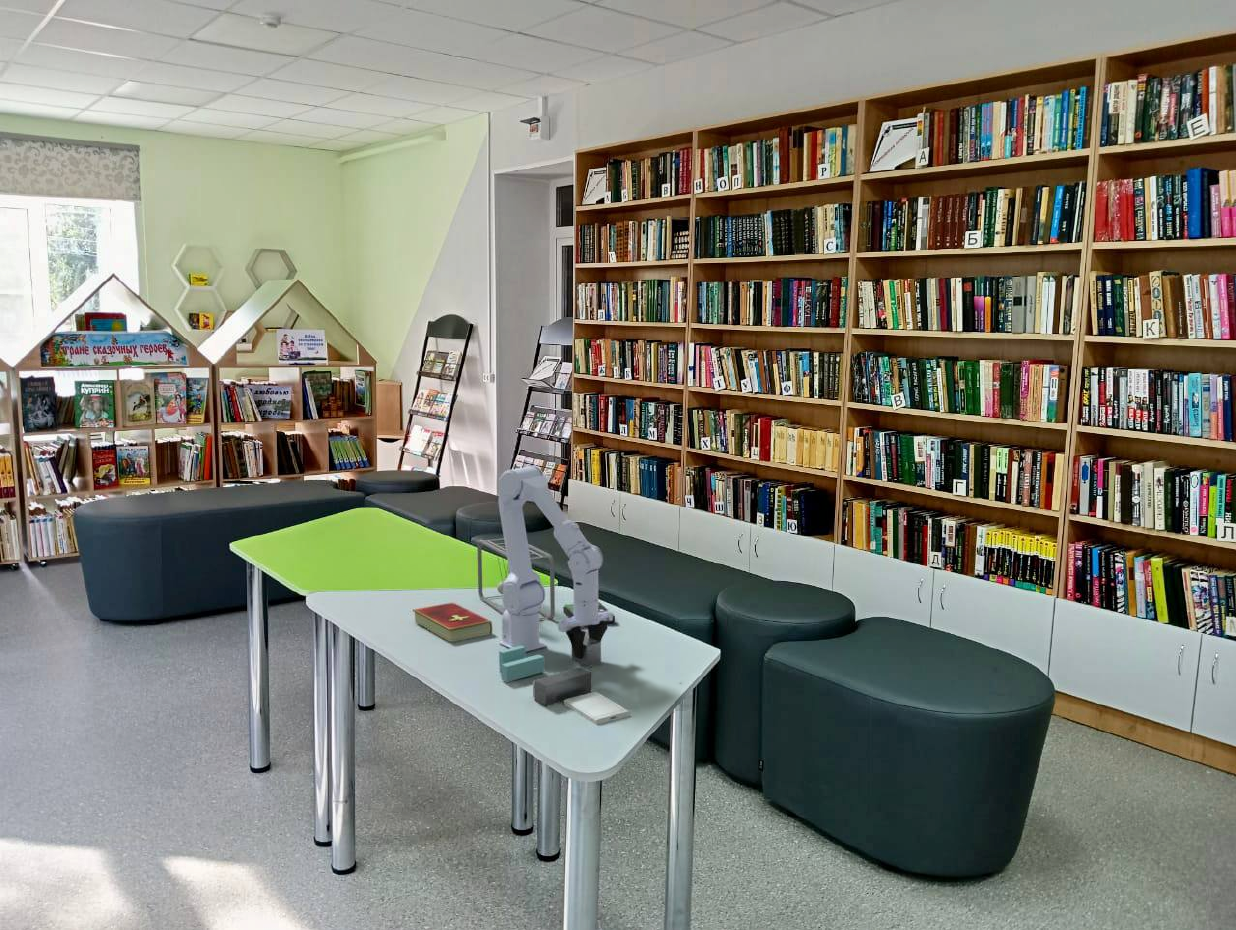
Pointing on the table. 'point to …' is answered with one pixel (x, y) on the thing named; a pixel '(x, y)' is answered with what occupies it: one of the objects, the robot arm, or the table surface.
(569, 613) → the disk drive
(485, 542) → the newton's cradle
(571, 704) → the hard drive
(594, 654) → the steel block
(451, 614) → the hardcover book
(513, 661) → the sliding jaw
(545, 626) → the table surface
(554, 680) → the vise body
